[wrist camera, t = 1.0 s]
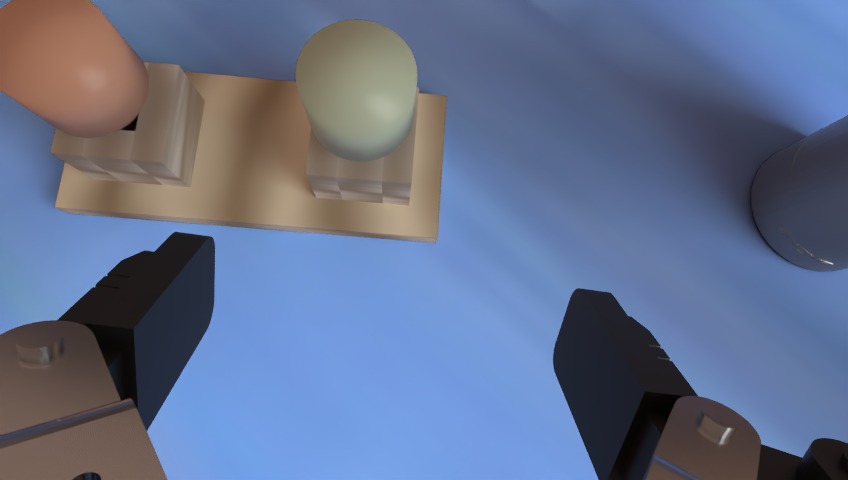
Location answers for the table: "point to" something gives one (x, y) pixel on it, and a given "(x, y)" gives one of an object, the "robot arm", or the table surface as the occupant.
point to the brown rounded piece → (70, 66)
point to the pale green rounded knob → (358, 89)
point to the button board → (251, 164)
